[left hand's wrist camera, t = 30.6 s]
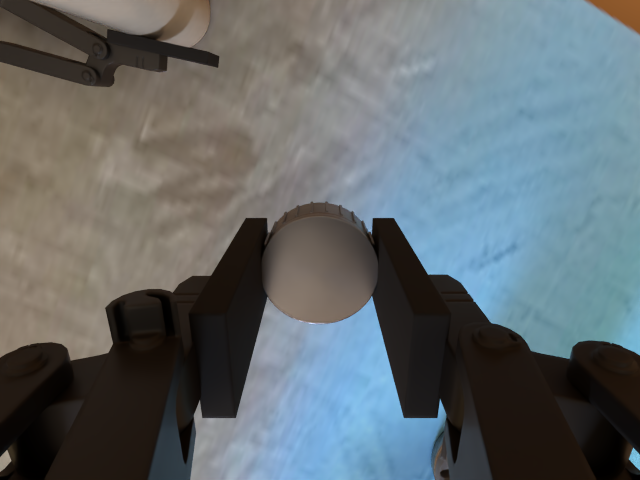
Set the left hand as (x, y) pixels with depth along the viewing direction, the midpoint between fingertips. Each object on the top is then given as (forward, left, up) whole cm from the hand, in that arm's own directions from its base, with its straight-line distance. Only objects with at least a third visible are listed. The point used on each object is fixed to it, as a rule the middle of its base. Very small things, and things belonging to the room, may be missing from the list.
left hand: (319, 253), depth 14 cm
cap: (0, 0, +1) cm, 1 cm away
